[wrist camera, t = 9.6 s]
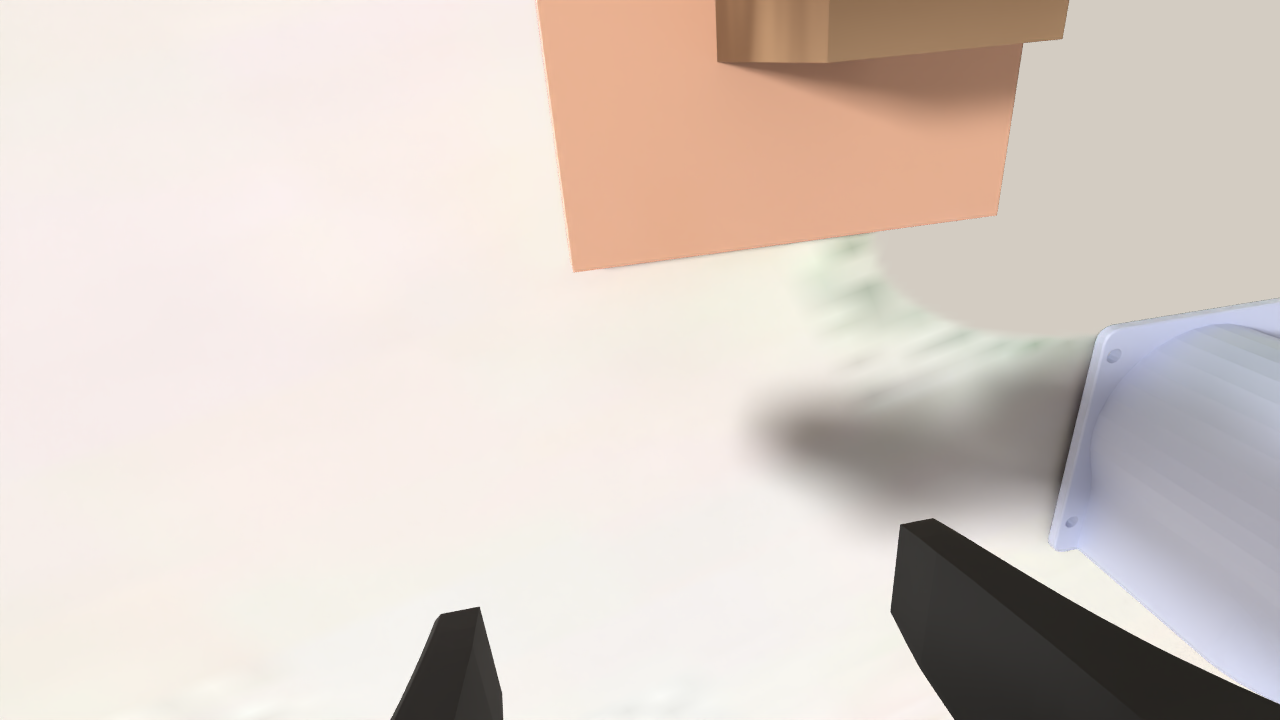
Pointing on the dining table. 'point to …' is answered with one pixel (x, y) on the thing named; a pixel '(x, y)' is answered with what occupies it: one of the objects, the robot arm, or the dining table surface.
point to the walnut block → (876, 27)
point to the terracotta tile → (757, 136)
